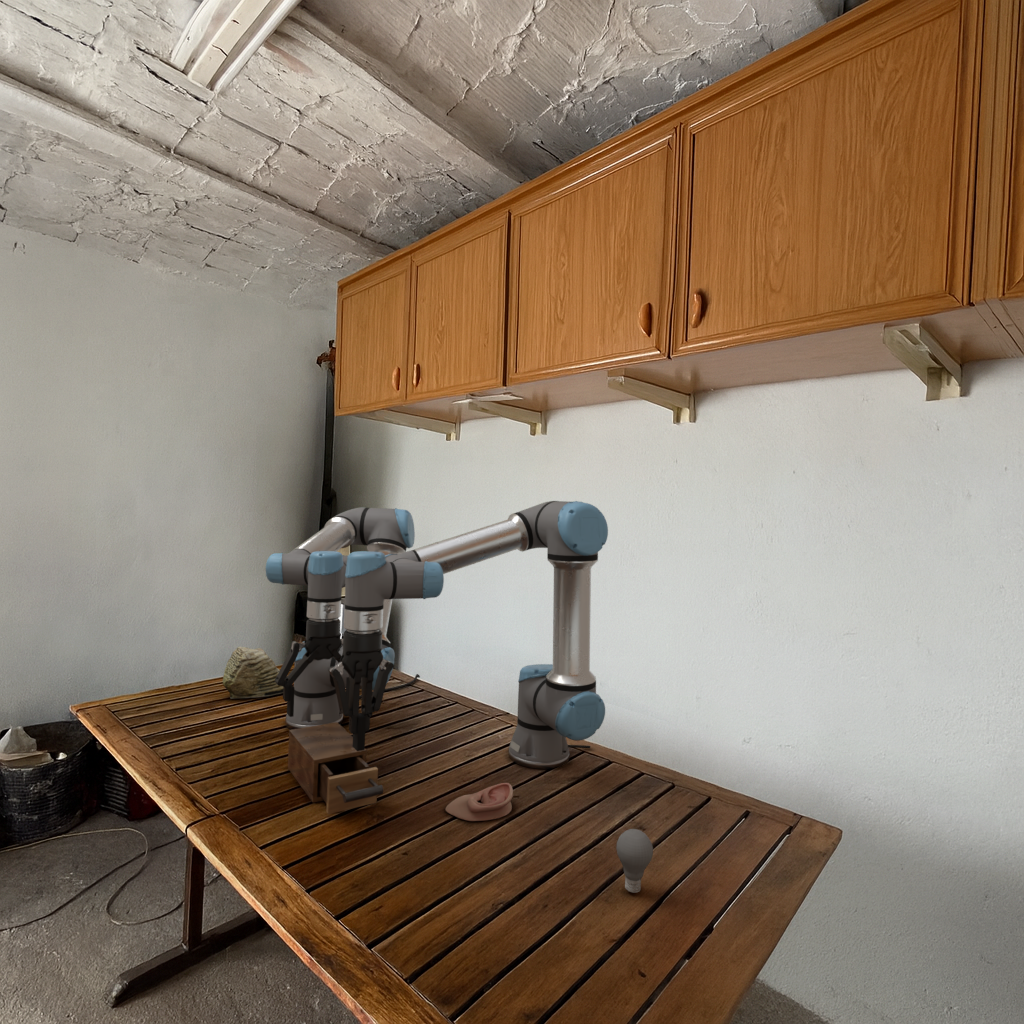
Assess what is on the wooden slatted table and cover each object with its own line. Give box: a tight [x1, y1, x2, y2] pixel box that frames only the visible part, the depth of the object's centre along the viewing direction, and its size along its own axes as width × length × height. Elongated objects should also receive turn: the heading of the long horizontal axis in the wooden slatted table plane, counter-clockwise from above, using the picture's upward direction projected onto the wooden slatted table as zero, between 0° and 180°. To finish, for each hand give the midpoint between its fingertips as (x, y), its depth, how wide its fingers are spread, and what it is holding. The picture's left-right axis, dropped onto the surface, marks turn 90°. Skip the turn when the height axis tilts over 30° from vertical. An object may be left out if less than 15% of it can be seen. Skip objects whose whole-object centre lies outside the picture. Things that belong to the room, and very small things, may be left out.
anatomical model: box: [444, 782, 514, 822], centre depth 131 cm, size 13×4×12 cm
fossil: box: [222, 646, 283, 699], centre depth 198 cm, size 9×18×15 cm, turn 132°
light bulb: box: [615, 828, 654, 894], centre depth 106 cm, size 6×6×10 cm
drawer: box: [317, 756, 384, 815], centre depth 132 cm, size 24×10×7 cm, turn 34°
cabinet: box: [287, 722, 367, 803], centre depth 142 cm, size 19×11×9 cm, turn 34°
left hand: (320, 710), depth 146 cm, fingers open, 13 cm apart
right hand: (358, 748), depth 126 cm, fingers closed
